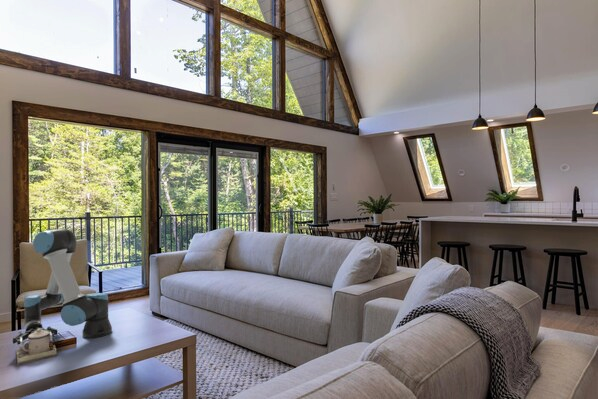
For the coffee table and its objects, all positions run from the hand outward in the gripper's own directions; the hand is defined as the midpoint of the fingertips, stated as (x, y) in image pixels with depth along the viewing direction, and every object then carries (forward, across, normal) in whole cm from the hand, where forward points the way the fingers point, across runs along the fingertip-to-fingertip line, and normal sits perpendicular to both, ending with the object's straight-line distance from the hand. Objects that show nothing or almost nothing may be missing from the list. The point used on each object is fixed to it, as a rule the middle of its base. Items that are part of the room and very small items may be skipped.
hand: (36, 341), depth 187 cm
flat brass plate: (-7, 0, -8) cm, 11 cm away
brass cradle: (-1, 0, -7) cm, 8 cm away
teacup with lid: (-4, 0, -7) cm, 8 cm away
